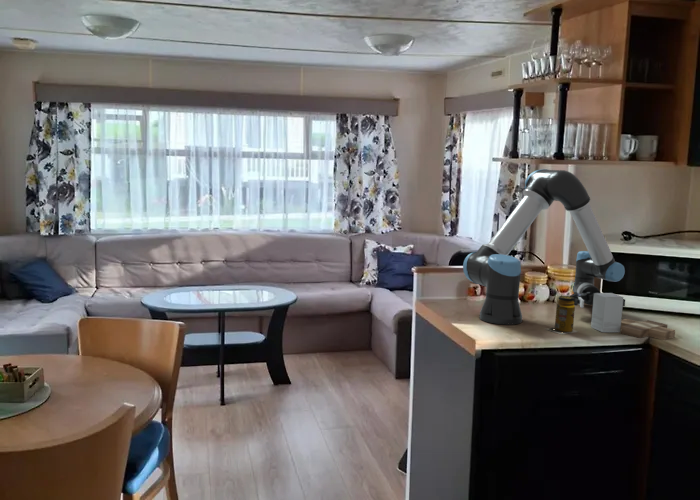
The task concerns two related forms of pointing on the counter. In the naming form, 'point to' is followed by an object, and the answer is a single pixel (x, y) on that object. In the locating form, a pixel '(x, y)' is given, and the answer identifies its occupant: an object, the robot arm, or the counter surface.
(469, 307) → the counter surface
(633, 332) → the cross stand
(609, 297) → the supplement box
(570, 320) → the condiment
